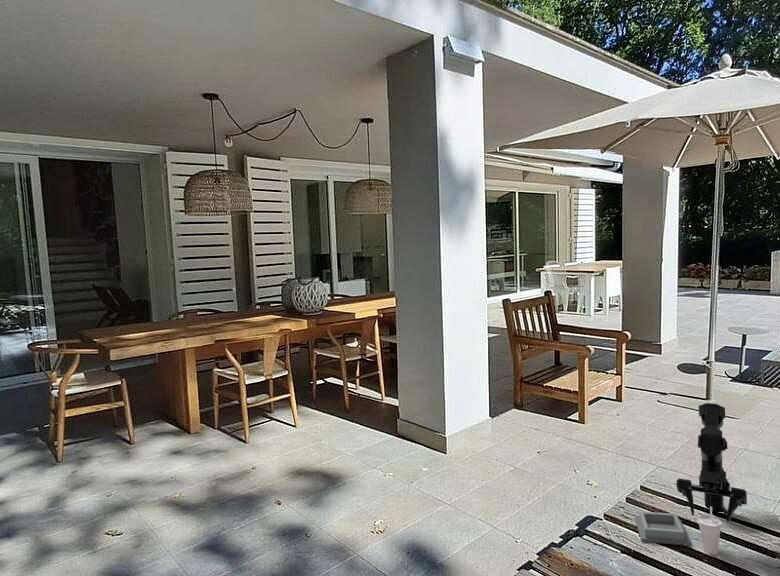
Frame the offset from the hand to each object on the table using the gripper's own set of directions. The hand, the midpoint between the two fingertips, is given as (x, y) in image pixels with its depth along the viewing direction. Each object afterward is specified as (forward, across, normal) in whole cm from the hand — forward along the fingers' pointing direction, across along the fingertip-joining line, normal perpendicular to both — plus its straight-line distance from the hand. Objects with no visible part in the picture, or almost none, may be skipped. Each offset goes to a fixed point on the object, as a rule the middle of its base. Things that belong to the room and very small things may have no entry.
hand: (710, 518), depth 161 cm
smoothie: (+8, 0, +6) cm, 10 cm away
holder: (+4, -14, +9) cm, 17 cm away
